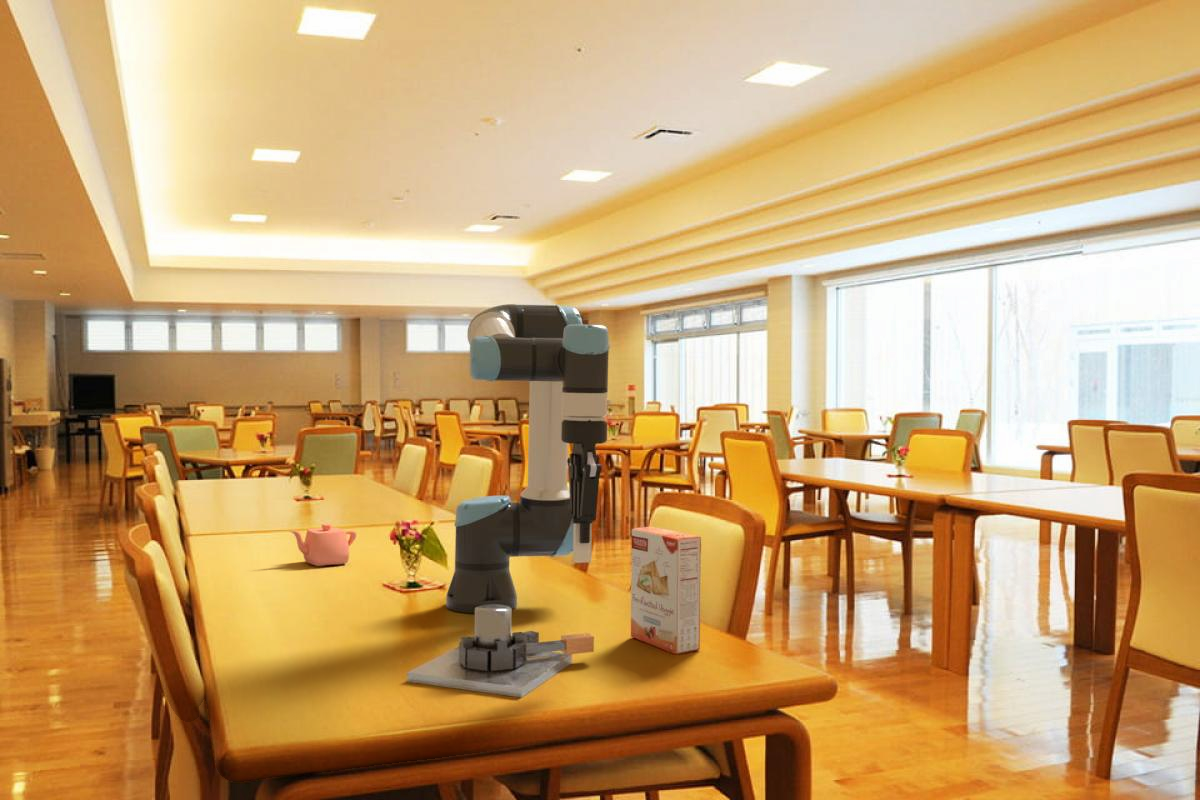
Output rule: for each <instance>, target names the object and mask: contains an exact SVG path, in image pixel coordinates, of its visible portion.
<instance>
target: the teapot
mask: <svg viewBox="0 0 1200 800" xmlns="http://www.w3.org/2000/svg"><path fill="white" fill-rule="evenodd" d="M289 532H290V533H292V534H293V535H294V536H295V538H296V544H297V548H298V550H299V551H300V552H301V553H302V554H303V559H304V561H305V562H306V563H307V564H309V565H313V566H315V567H318V566H319V567H324V566H330V565H331V566H332V565H333V566H340V565H342V564H347V563H348V562H349V560H350V546H351V545H352V544H353V542H355V540H356V538H357V534H358V533H357V531H355V530H343V529H341V528H338V527H332V524H331V523H324V524H321V527H320V528H319V527H318V528H308V529H307V531H306V535H305V538H304V539H303V536H302V534H301V533H300V532H299V531H297V530H289ZM347 535H349V538H348V536H347Z"/></svg>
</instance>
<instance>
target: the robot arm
mask: <svg viewBox="0 0 1200 800" xmlns="http://www.w3.org/2000/svg"><path fill="white" fill-rule="evenodd" d="M467 341H468V343H469V374H470V375H469V376H470V377H471V378H472V379H473V380H476V381H487V382H496V381H502V382H503V381H506V382H507V381H508V382H509V381H510V382H511V381H513V382H515V381H521V382H523V381H524V382H525V381H527V382H528V381H529V402H528V403H529V407H528V408H529V409H528V411H529V412H528V450H527V451H528V453H527V454H528V456H527V457H528V458H527V486H526V487H525V489H523V491H521V492H520V500H519V502H512V499H511V498H510V496H509V495H504V494H503V495H487V496H481V497H476V498H474V497H473V498H471V499H467V500H464V501H463V500H462V502H460V503H459V504H458V505H457V506H456V509H455V522H454V527H455V547H454V571H453V575H452V578H451V582H450V584H449V586H448V588H447V589H448V590H447V593H446V596H445V597H446V598H445V607H446V609H448V610H450V611H453V612H458V613H466V614H475V608H476V607H478V606H481V605H490V604H499V605H506V606H510V607H511V608H512V610H513V609H515V608H516V607H517V606H518V595H517V590H516V586H515V584H514V581H513V577H512V574H511V572H510V559H511V558H510V557H513V558H516V557H517V558H519V557H550V558H554V557H559V556H569V555H570V554H572V562H573V563H575V564H577V563H578V564H579V563H580V564H581V563H585V564H586V563H592V533H593V532H592V530H593V529H592V527H593V526H592V525H593V522H596V519H597V509H598V498H599V497H598V496H599V485H600V476H601V472H602V466H601V464H599V455H598V454H597V449H596V445H598V444H599V445H601V444H605V443H607V441H608V422H607V420H604V418H607V416H608V405H610V404H611V399H610V398H608V392H609V391H608V384H609V383H608V382H609V381H608V380H609V356H610V355H609V353H610V348H611V345H610V342H609V329H608V328H607V327H606V326H605V325H602V324H601V325H600V324H583V320H582V317H581V314H580V312H579V310H578V309H576V308H575V307H573V306H565V305H559V304H555V305H549V304H548V305H547V304H545V305H543V304H541V305H540V304H515V303H513V304H509V303H508V304H502V305H501V304H500V305H496V306H493V307H490V308H488V309H484V310H483V311H482V312H480V313H478V314H477V315H475V316H474V317H473V318H472V320H471V321H470V322H469V325H468V327H467ZM569 444H572V450H571V453H570V454H569ZM568 483H569V484H568ZM568 485H569V487H568Z"/></svg>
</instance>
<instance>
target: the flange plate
mask: <svg viewBox="0 0 1200 800" xmlns="http://www.w3.org/2000/svg"><path fill="white" fill-rule="evenodd" d="M512 611H513V609H512V608H511V607H510V606H506V605H499V604H490V605H481V606H478V607H476V608H475V613H474V636H475V646H474V647H476V648H484V649H495V641H505V642H506V643H507V648H508V647H510V646H511V636H512ZM522 633H524V634H525V636H524V641H525V642H526V643H537V642H540V640H539V639H540V638H539V637H540V635H539V634H540V633H539V632H537V631H534V630H527V631H524V632H522ZM572 661H573V654H568V655H566V654H565V653H563V652H558V651H552V652H542V653H532V654H526V662H525V663H523V664H522V665H520V666H518V667H516V668H513V669H504V670H495V671H491V670H488V671H485V670H477V669H470V668H467V667H464V666H463V665H462V664H461V663H460V662H459V646H457V647H455V648H452V649H451V650H449V651H447V652H445V653H442V654H441V655H439V656H437V657H435V658H432V659H430V660H429V661H427V662H425V663H423V664H420V665H419V666H417V667H415V668H413V669H411V670H409V671H407V673H406V675H407V677H406V682H408V683H415V684H420V685H428V686H435V687H442V688H449V689H458V690H465V691H471V692H477V693H478V692H479V693H485V694H492V695H502V696H509V697H513V698H523V697H525V696H526V695H528V694H529V693H531V692H532V691H533V690H534V689H536V688H538V687H539V686H540V685H543V683H545V682H546V681H548V680H549V679H551V678H552V677H554V676H555V675H557V674H558V673H559V672H561V671H562V670H564V669H566V668H567V667H569V666H570V665H571V664H572V663H573V662H572Z"/></svg>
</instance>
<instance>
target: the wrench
mask: <svg viewBox="0 0 1200 800" xmlns="http://www.w3.org/2000/svg"><path fill="white" fill-rule="evenodd" d="M524 636H525V634H524V633H523V632H522V631H518V632H517V631H516V632H515V631H514V632H511V646H510V647H508V648H507V643H506V642H505V641H495V649H484V648H476V647H474V646H475V635H473V636H462V637H460V641H459V643H458V647H459V662H460V663H461V664H462V665H463V666H464V667H467V668H470V669H477V670H485V671H488V670H491V671H495V670H504V669H513V668H516V667H518V666H520V665H522V664H523V663H525V662H526V654H532V653H542V652H561V653H565V654H566V655H568V654H572V655H577V654H586V653H594V650H595V646H594V645H595V636H594V635H592V634H591V633H590V632H587V633H586V632H585V633H576V634H564V635H560V639H559V640H550V641H548V640H547V641H539V642H537V643H526V642H525V641H524Z"/></svg>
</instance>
